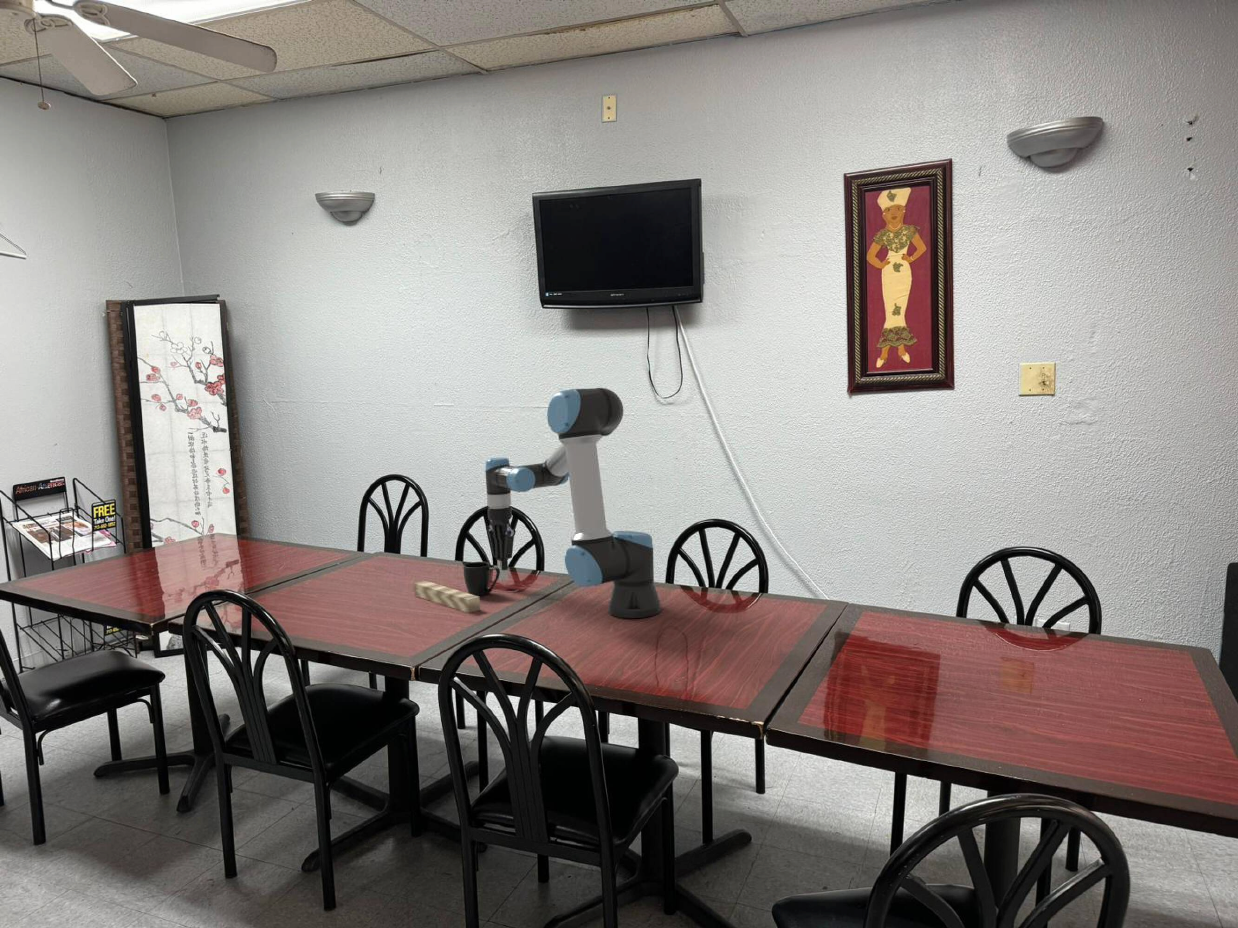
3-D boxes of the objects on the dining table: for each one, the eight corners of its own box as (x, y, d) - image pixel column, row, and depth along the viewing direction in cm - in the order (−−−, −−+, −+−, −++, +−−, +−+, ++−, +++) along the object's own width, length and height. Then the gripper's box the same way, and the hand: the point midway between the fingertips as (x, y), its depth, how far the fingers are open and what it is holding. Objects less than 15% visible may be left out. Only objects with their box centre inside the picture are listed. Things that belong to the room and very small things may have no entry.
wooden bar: (480, 609, 259) (479, 596, 258) (468, 612, 256) (467, 599, 255) (425, 592, 280) (425, 580, 280) (414, 595, 278) (413, 583, 277)
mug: (492, 599, 269) (491, 569, 268) (459, 596, 274) (458, 566, 273) (506, 592, 277) (505, 563, 276) (474, 590, 282) (472, 560, 281)
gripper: (521, 506, 277) (524, 580, 280) (497, 503, 287) (500, 574, 290) (501, 510, 272) (505, 585, 275) (477, 506, 282) (481, 578, 285)
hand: (503, 579), depth 282 cm, fingers closed
